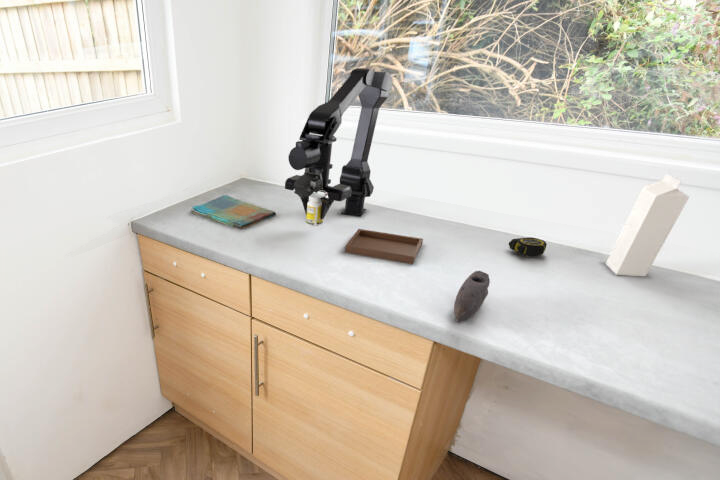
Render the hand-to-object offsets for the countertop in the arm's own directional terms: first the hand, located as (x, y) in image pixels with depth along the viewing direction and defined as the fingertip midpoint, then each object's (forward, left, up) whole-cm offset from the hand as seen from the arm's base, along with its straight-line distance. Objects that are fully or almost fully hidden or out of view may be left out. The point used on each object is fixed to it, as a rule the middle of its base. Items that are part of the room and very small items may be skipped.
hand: (314, 217), depth 137 cm
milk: (-8, +75, -5) cm, 76 cm away
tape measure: (-9, +54, -5) cm, 55 cm away
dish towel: (-4, -29, -5) cm, 30 cm away
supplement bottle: (0, 0, -2) cm, 2 cm away
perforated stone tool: (+28, +44, -5) cm, 52 cm away
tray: (+3, +21, -5) cm, 22 cm away
